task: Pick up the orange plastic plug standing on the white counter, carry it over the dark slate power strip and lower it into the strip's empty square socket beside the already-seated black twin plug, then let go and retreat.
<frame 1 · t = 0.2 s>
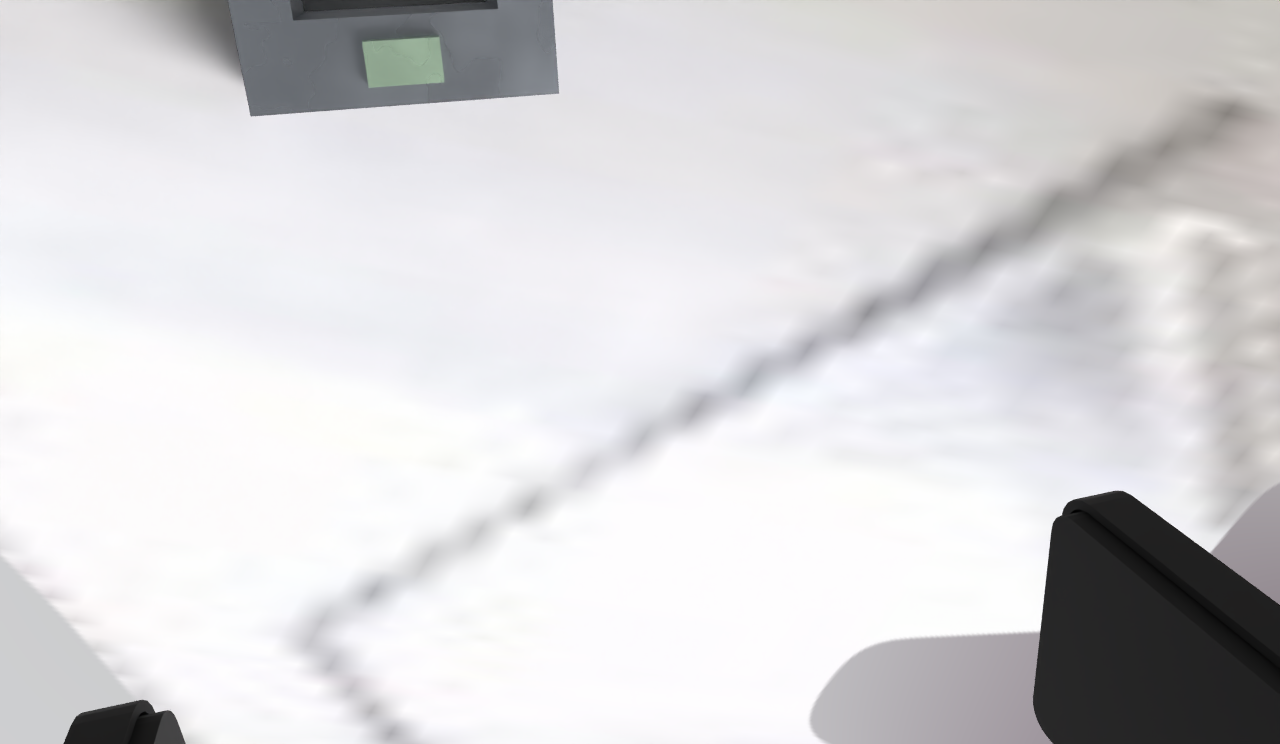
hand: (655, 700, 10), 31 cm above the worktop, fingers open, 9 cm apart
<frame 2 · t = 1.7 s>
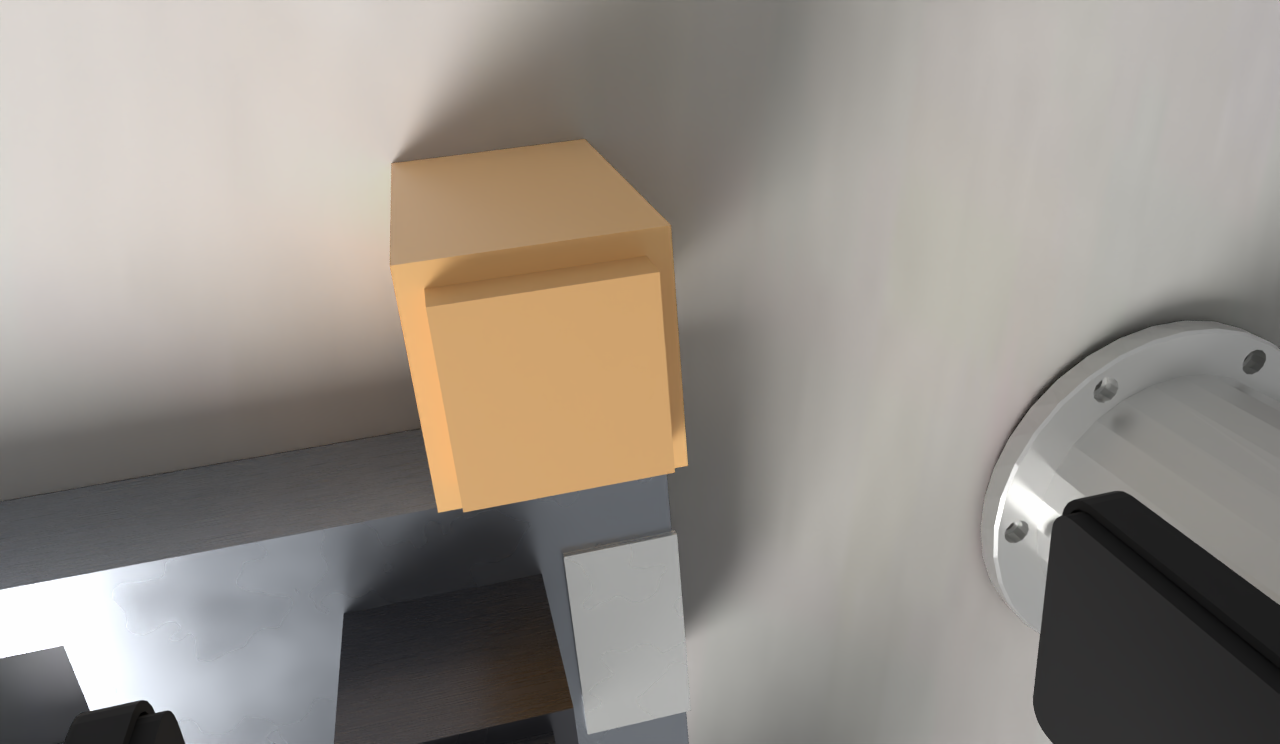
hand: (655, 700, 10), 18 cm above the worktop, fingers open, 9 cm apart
plug: (503, 243, 26), on the worktop
power strip: (246, 614, 29), on the worktop
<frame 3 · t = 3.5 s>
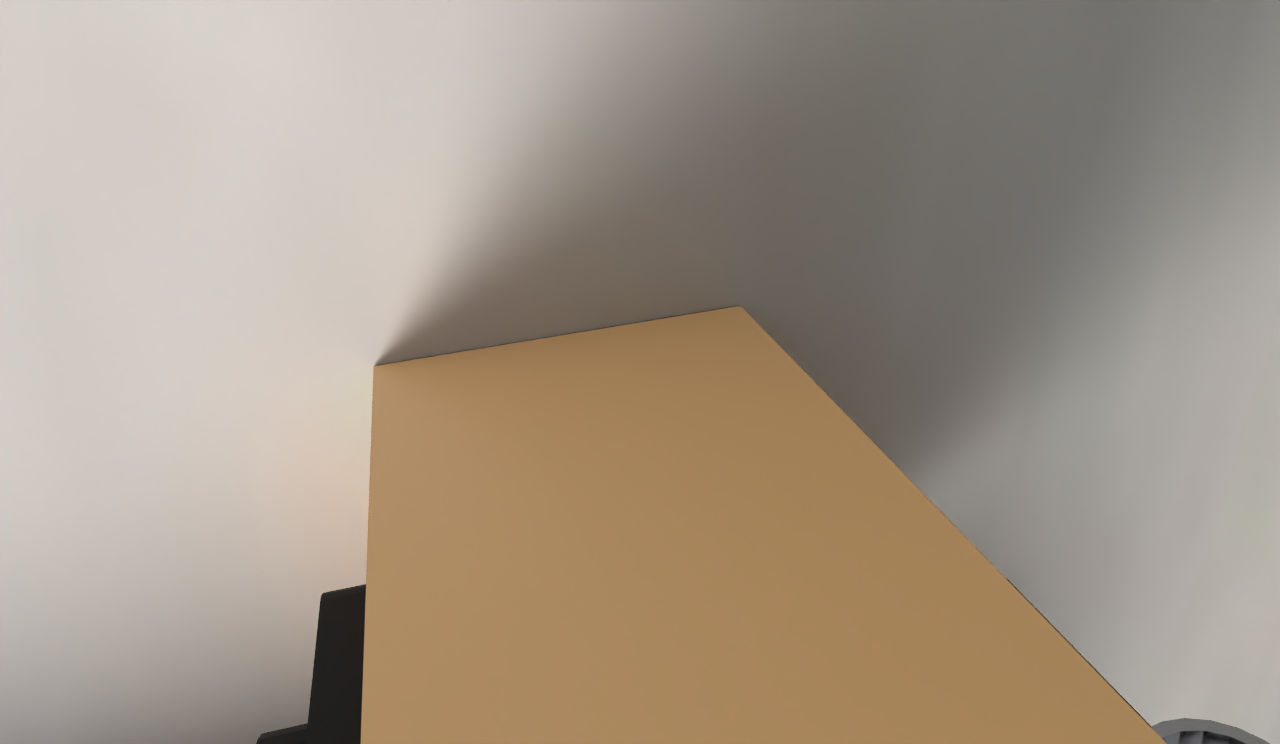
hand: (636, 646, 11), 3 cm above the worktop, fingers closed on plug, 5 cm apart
plug: (583, 494, 14), on the worktop, touching gripper
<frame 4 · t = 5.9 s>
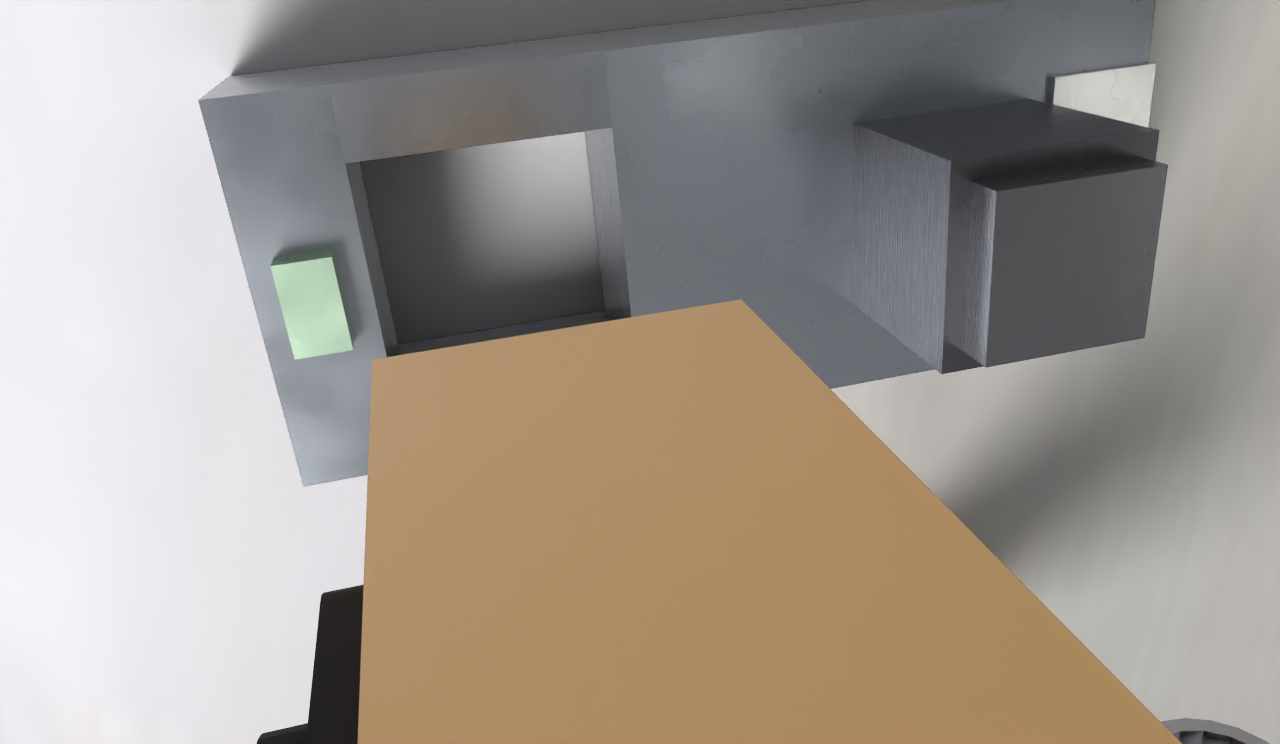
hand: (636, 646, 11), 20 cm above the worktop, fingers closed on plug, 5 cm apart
plug: (582, 488, 14), point 16 cm above the worktop, touching gripper
power strip: (684, 197, 30), on the worktop
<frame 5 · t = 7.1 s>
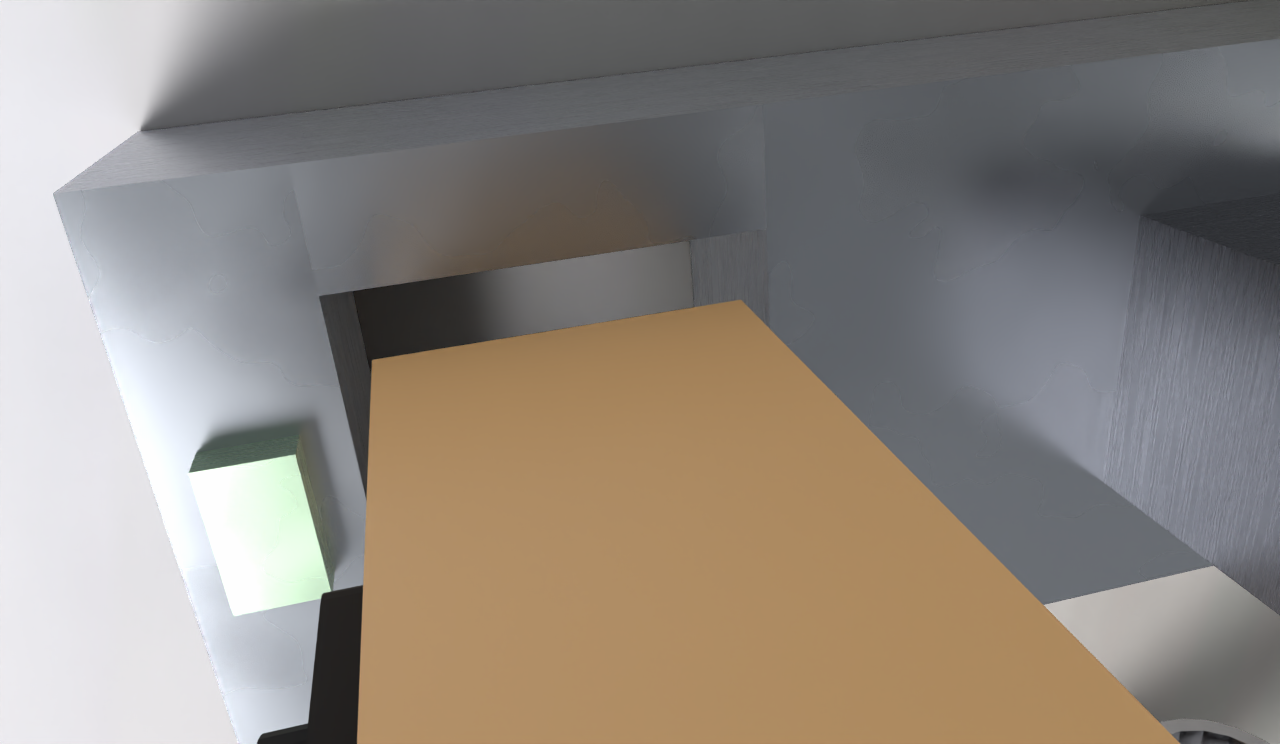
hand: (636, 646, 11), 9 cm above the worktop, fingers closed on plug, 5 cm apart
plug: (582, 488, 14), point 6 cm above the worktop, touching gripper
power strip: (825, 303, 20), on the worktop
when the fingers open (6 cm above the worktop, at t = 8.1 s): plug drops 2 cm, resting in power strip.
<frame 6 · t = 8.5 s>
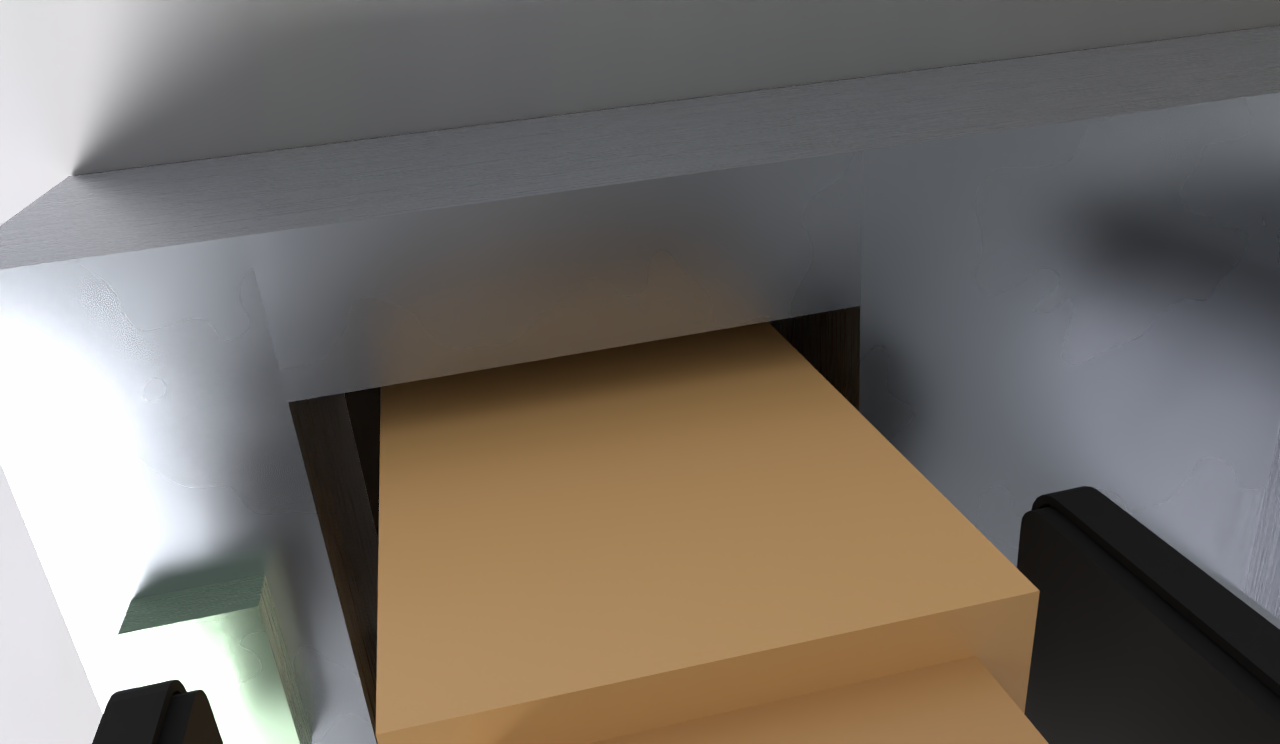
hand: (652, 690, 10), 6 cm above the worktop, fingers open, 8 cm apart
plug: (563, 422, 16), resting in power strip
power strip: (896, 367, 17), on the worktop
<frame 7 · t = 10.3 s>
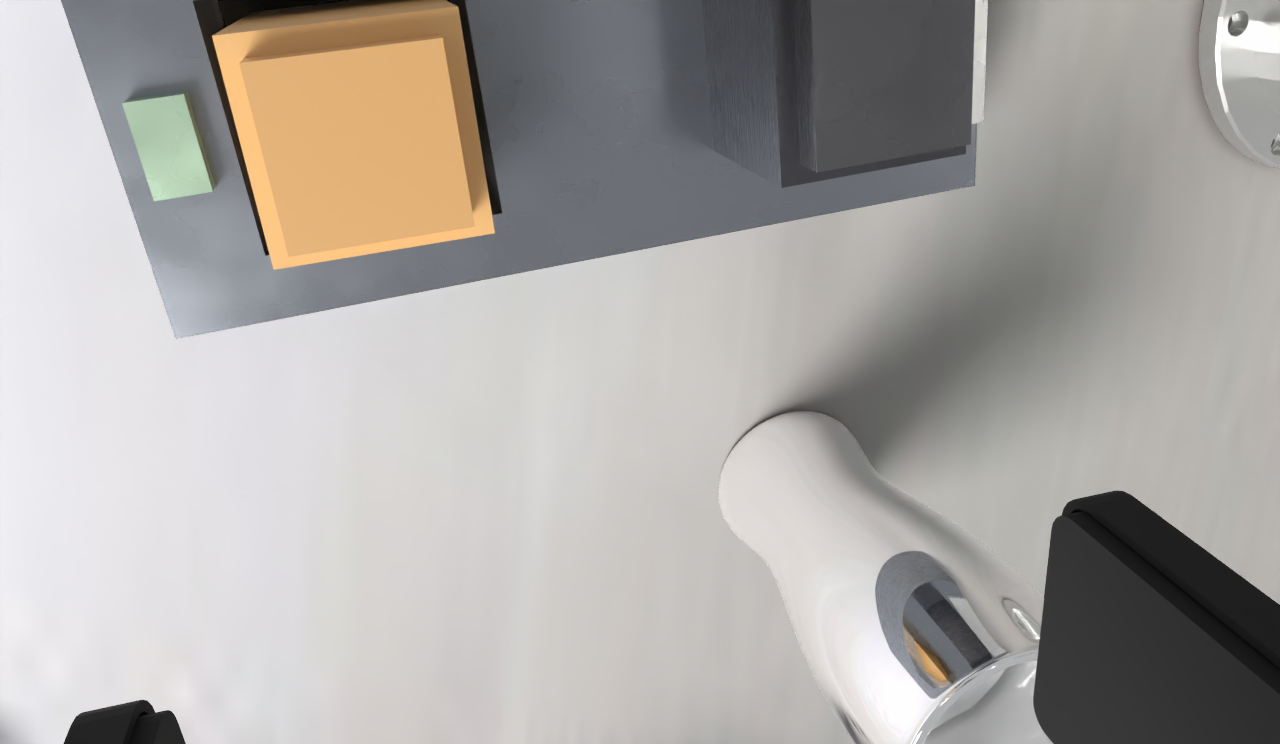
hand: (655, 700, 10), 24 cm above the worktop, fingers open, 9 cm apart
beer glass: (787, 476, 39), on the worktop
plug: (360, 90, 29), resting in power strip
power strip: (554, 63, 30), on the worktop
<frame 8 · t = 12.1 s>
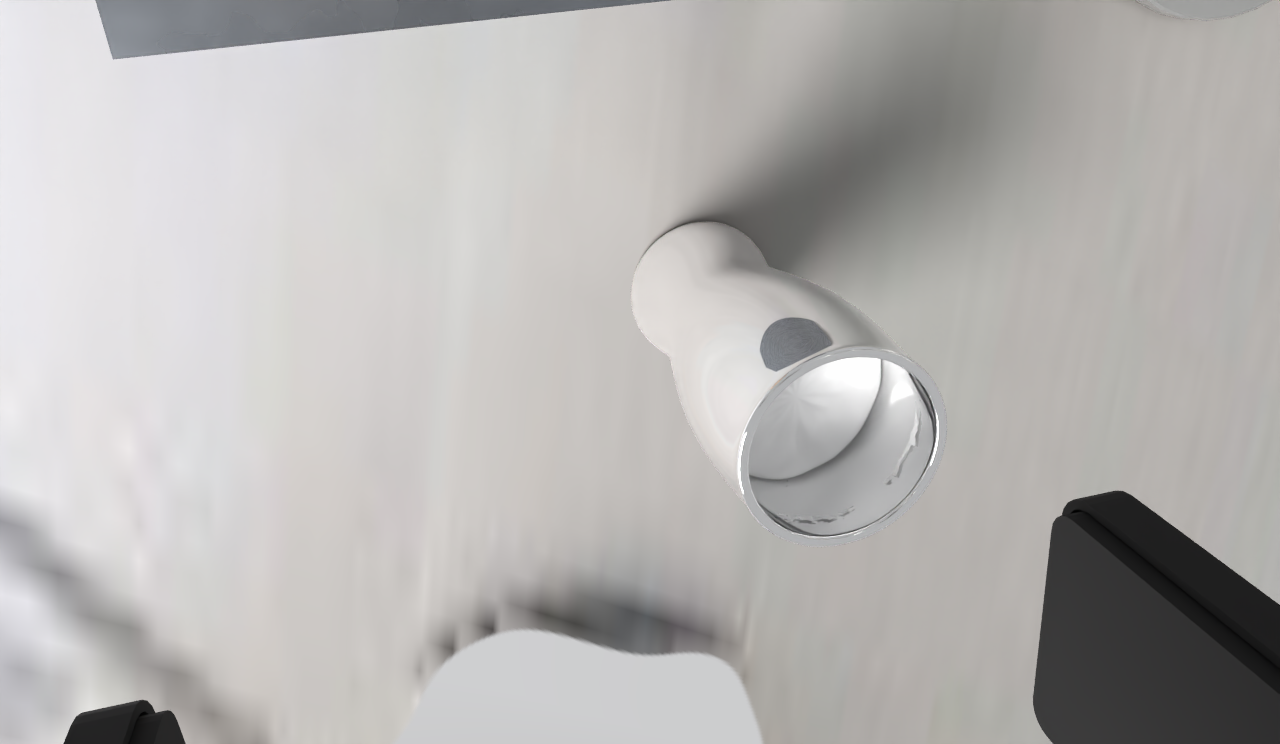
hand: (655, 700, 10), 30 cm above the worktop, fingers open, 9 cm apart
beer glass: (697, 288, 42), on the worktop
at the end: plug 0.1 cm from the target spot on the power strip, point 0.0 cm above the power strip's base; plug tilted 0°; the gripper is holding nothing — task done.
